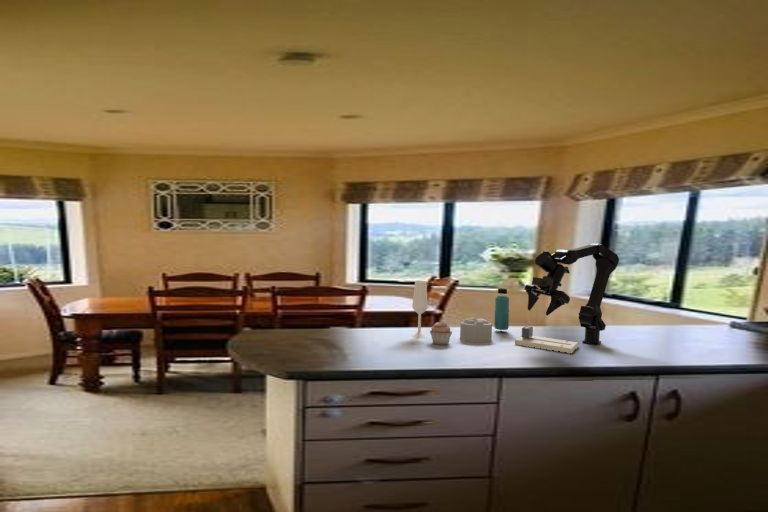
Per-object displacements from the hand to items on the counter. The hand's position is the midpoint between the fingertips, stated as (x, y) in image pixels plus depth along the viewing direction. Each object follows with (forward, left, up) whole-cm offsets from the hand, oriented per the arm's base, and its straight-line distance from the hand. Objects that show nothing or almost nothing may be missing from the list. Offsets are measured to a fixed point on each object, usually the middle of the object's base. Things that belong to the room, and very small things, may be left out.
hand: (537, 312), depth 185 cm
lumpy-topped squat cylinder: (-1, -26, -15) cm, 30 cm away
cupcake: (+15, -34, -15) cm, 40 cm away
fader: (-9, -6, -12) cm, 17 cm away
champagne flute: (+10, -47, -15) cm, 51 cm away
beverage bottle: (-22, -22, -15) cm, 35 cm away
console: (-9, +2, -15) cm, 18 cm away
